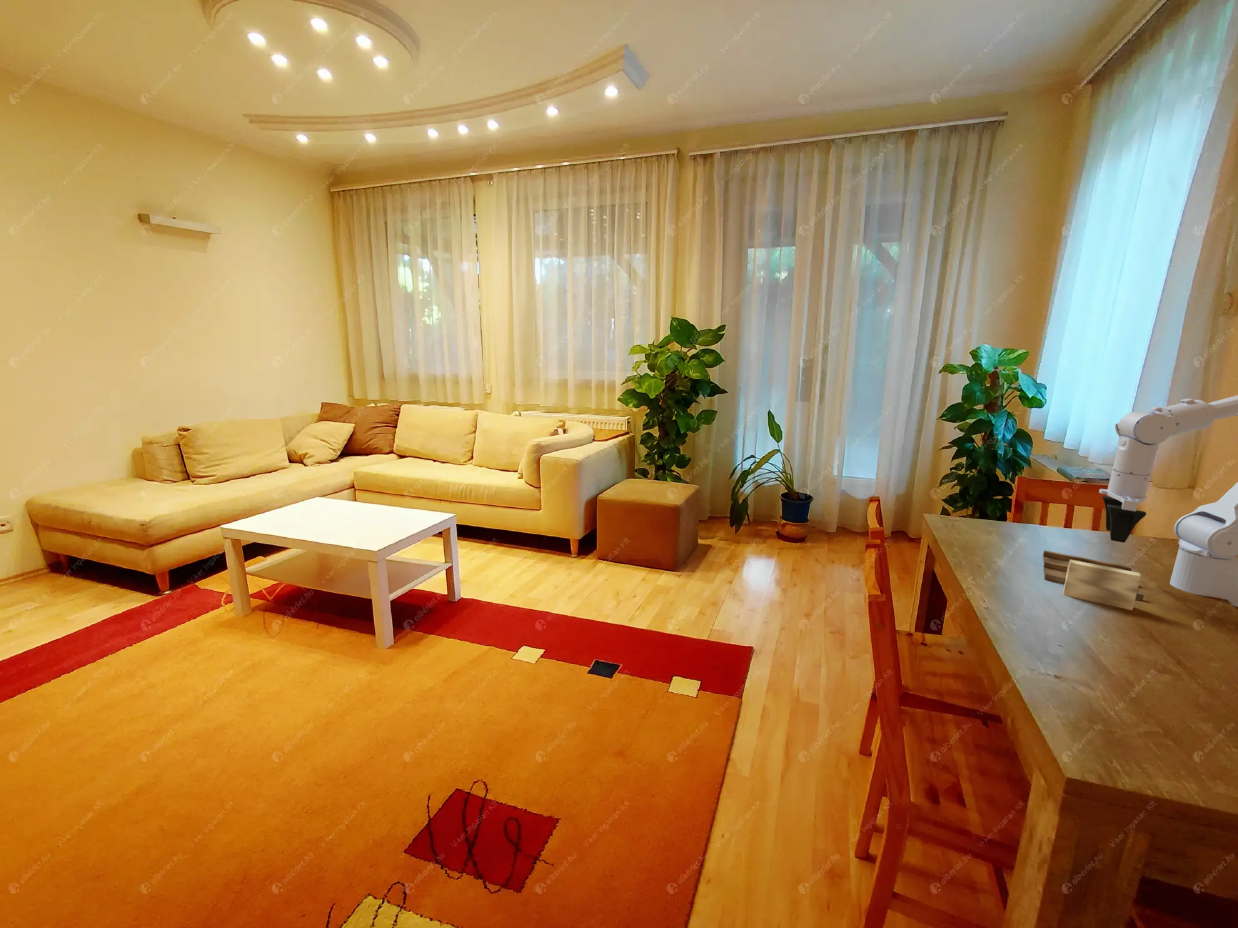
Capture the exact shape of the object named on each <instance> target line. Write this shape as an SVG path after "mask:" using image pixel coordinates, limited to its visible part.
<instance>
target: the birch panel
mask: <svg viewBox="0 0 1238 928" xmlns="http://www.w3.org/2000/svg"><path fill="white" fill-rule="evenodd" d="M1141 579H1142V577H1141V573H1140V572H1136V571H1132V570H1131V571H1127V570H1121V569H1116V568H1111V567H1106V566H1101V565H1096V564H1090V563H1085V562H1080V561H1075V560H1070V561H1069V566H1068V570H1067V575H1066V580H1065V584H1063V585H1064V586H1063V588H1062V590H1063V591H1062V595H1064V596H1068V597H1071V598H1075V599H1080V600H1085V601H1090V602H1093V603H1098V604H1103V605H1107V606H1113V607H1116V608H1121V609H1125V610H1129V611H1133V609H1134V606H1135V602H1136V599H1135V598H1136V594H1137V590H1138V591H1139V585H1140V582H1141Z"/></svg>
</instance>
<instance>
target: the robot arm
mask: <svg viewBox="0 0 1238 928" xmlns="http://www.w3.org/2000/svg"><path fill="white" fill-rule="evenodd" d="M1150 409H1151V410H1149V411H1148V412H1145V411H1137V410H1136V411H1132V412H1131V411H1130V412H1129V413H1126V414H1125V416H1122V417H1121V419H1119V422H1117V423H1115V426H1114V429H1115V433H1116V435H1118V441H1117V444H1118V445H1117V448H1116V449H1117V450H1116V453H1115V457H1114V461H1113V466H1112V468H1111V469H1112V470H1111V473H1110V478H1109V482H1108V486H1107V489H1105V488H1100V489H1099V491H1098V493H1099V494H1101V495H1103V496H1102V500H1103V503H1104V508H1105V529H1106V531H1107V532H1109V538H1110V541H1112V542H1113V541H1114V542H1116V543H1117V542H1118V543H1123V544H1124V543H1126V541H1127V540H1128V539H1129V537H1130V535H1131V533H1132V531H1133V530H1134V528H1135V527H1136V525H1137V524H1138V523H1139V522H1140V521H1141V520H1142V519H1143V518H1145V517H1146V515H1147V512H1146V511H1144V510H1143V511H1142V510H1137V509H1138V506H1139V504H1140V503H1142V502H1145V501H1147V491H1148V487H1149V485H1150V480H1151V477H1152V473H1153V468H1154V464H1155V461H1156V456H1157V454H1158V450H1159V447H1160V444H1162V443H1164V442H1165V441H1166V440H1167V439H1169V437H1173V436H1176V435H1181V434H1187V433H1191V432H1195V431H1201V430H1204V429H1209V428H1210V427H1211V426H1213V424H1214V422H1215V420H1220V419H1221V420H1222V419H1226V418H1230V417H1236V416H1238V394H1236V395H1234V396H1229V397H1226V398H1223V399H1219V400H1215V401H1212V402H1206V401H1204V400H1201V399H1194V398H1189V397H1188V398H1184V399H1180V403H1177V404H1173V405H1172V404H1171V405H1168V406H1163V407H1161V406H1155V407H1151V408H1150ZM1173 532H1174V535H1175V537H1177V539H1179V540H1178V545H1179V547H1178V551H1177V554H1176V558H1175V563H1174V565H1173V570H1172V573H1171V577H1170V581H1169V584H1170V586H1171V587H1174V588H1175V589H1177V590H1178V589H1179V590H1181V591H1183V592H1186V593H1190V594H1194V595H1198V596H1202V597H1211V598H1216V599H1217V598H1218V599H1222V600H1227V602H1229V603H1230V605H1231V607H1237V608H1238V557H1237V556H1238V481H1237V482H1236V483H1235V484H1234V485H1233V486H1232V487H1231V488H1230V489H1229V490H1228V491H1226V492H1225V493H1224V494H1223V496H1222V497H1220V498H1219V499H1218V500H1217V501H1215V502H1211V503H1206V504H1203V505H1199V506H1198V507H1197V508H1196V509H1194V510H1193V511H1192V512H1190V513H1188V514H1185V515H1183V516H1181V517H1180V518H1178V520H1176V522H1175V524H1174V526H1173Z"/></svg>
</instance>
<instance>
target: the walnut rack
mask: <svg viewBox="0 0 1238 928" xmlns="http://www.w3.org/2000/svg"><path fill="white" fill-rule="evenodd" d="M1042 558H1043V560H1042V561H1043V573H1044V574H1043V575H1044V581H1049V582H1052V583H1053V582H1054V583H1058V584H1063V585H1064V584H1065V580H1066V572H1067V567H1068V565H1069V561H1070V560H1075V561H1080V562H1085V563H1090V564H1096V565H1101V566H1106V567H1111V568H1116V569H1121V570H1127V571H1132V569H1133V568H1132V567H1131V566H1128V565H1125V564H1123V565H1122V564H1118V563H1117V564H1116V563H1112V562H1107V561H1102V560H1097V559H1091V558H1086V557H1082V556H1081V557H1080V556H1076V555H1070V554H1066V553H1060V552H1054V551H1049V550H1043V554H1042ZM1144 597H1145V594H1144V592H1141V591H1139V589H1138V590H1137V594H1136V598H1135V601H1142V602H1143V601H1144Z"/></svg>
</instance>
